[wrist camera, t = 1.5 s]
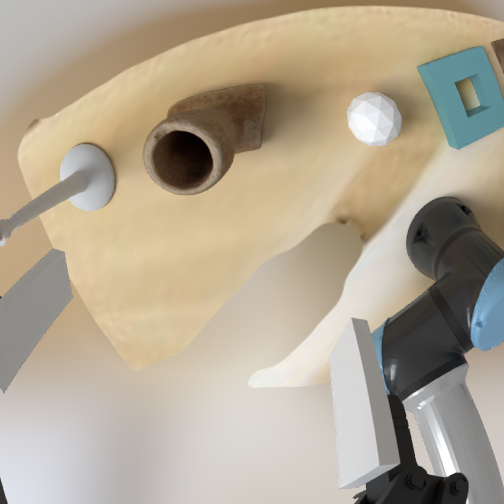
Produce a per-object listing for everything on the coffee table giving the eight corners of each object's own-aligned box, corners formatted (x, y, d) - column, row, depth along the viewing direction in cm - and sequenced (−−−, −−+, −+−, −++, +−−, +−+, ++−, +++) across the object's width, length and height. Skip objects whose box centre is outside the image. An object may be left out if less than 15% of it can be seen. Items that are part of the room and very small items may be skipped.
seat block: (500, 120, 32) (510, 123, 30) (449, 145, 37) (458, 149, 34) (472, 47, 27) (482, 46, 25) (416, 66, 32) (425, 65, 29)
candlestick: (126, 191, 46) (5, 295, 20) (82, 220, 50) (-21, 316, 24) (94, 130, 41) (-52, 190, 15) (53, 166, 45) (-67, 237, 19)
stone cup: (180, 174, 44) (140, 207, 31) (165, 102, 39) (116, 107, 26) (276, 160, 42) (274, 190, 29) (265, 83, 36) (258, 73, 23)
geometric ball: (349, 119, 40) (326, 114, 35) (384, 86, 34) (366, 74, 29) (379, 157, 39) (361, 157, 34) (417, 125, 33) (406, 119, 28)
